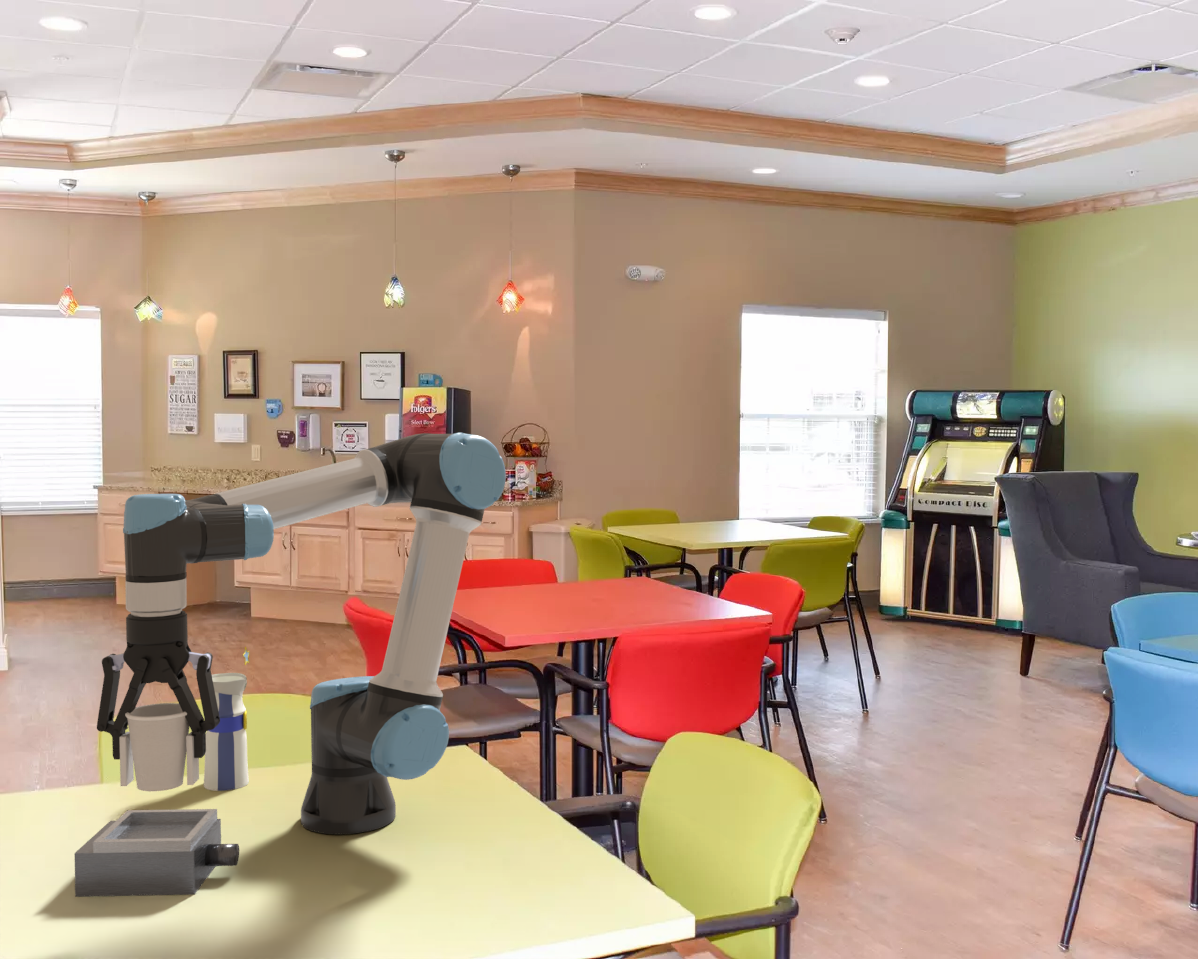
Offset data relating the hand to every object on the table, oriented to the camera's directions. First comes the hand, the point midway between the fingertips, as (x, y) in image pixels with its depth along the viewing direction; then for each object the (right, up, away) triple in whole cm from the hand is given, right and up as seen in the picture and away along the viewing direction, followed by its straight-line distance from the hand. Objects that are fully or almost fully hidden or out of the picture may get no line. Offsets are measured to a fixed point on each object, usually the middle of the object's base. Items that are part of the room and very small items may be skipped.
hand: (160, 782), depth 151 cm
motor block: (-4, -17, +11) cm, 20 cm away
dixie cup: (0, -1, 0) cm, 1 cm away
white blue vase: (-9, -15, +54) cm, 57 cm away
